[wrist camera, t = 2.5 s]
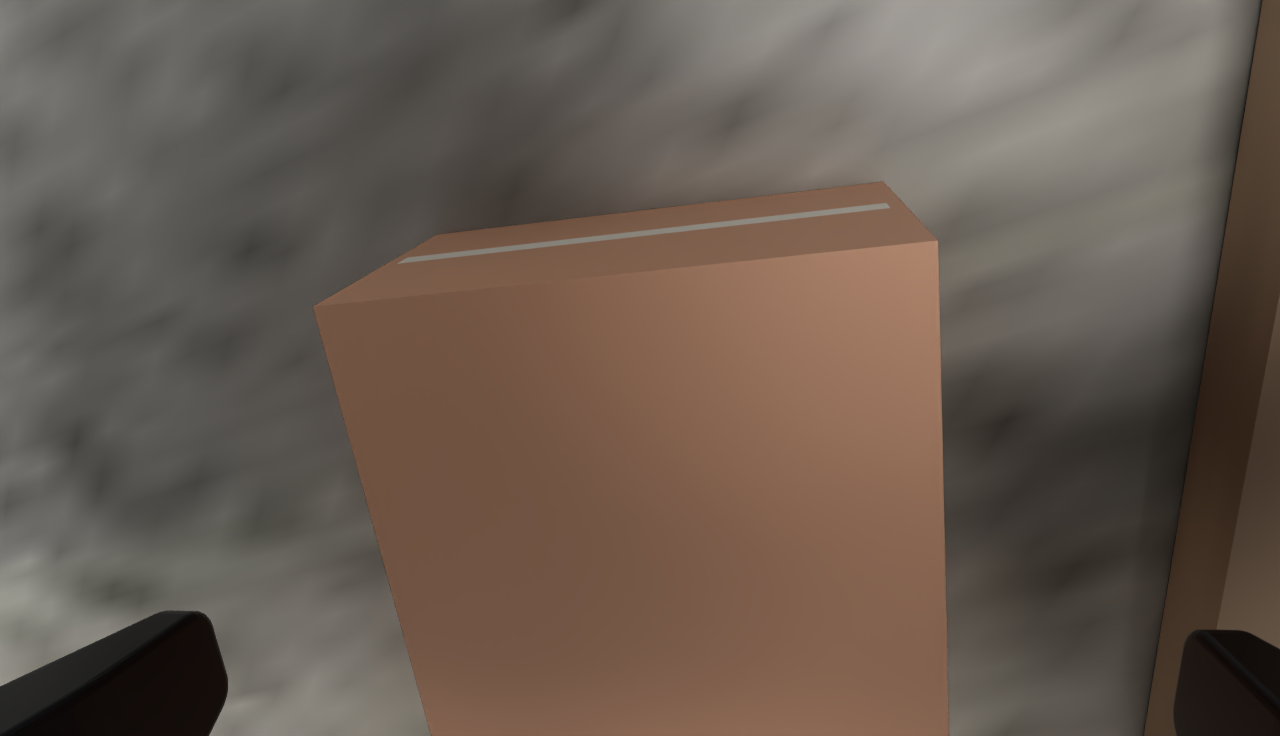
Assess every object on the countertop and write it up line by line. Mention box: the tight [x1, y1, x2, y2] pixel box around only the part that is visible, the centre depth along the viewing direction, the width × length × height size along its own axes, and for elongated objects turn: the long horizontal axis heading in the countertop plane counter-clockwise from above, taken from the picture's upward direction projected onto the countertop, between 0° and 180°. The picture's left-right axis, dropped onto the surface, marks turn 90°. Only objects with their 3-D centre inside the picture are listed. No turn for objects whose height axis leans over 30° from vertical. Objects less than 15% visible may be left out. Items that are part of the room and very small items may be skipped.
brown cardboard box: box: [313, 182, 949, 736], centre depth 10 cm, size 7×6×4 cm
